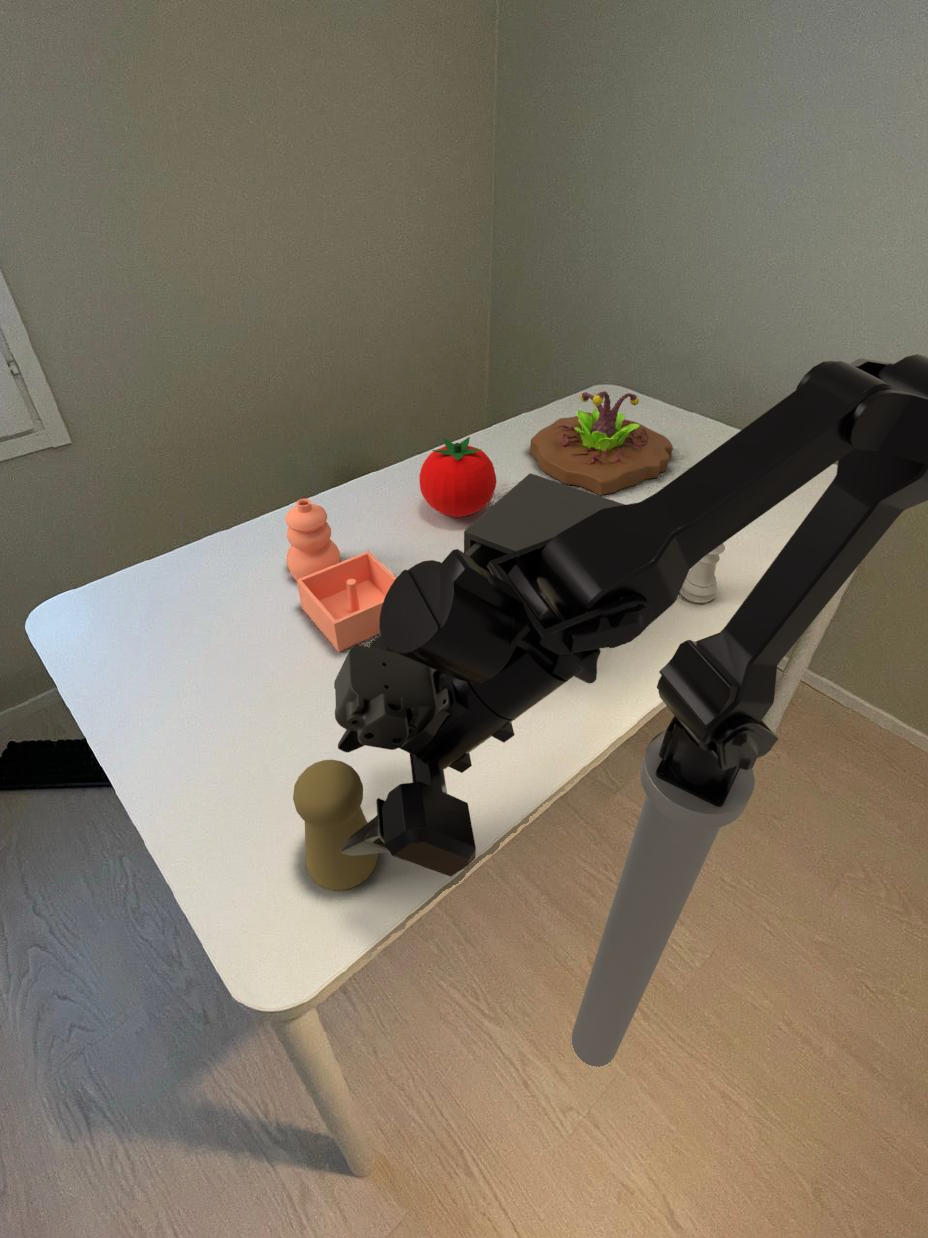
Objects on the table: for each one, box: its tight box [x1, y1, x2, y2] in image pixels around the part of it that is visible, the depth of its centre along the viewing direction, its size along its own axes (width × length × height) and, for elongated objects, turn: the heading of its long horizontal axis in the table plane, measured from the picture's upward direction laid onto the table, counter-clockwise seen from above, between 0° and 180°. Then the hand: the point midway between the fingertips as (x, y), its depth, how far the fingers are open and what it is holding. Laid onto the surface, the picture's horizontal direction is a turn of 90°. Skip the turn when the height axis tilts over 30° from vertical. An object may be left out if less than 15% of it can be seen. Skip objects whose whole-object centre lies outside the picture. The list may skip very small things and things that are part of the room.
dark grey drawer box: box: [463, 472, 626, 622], centre depth 83 cm, size 15×14×10 cm
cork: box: [292, 759, 379, 892], centre depth 56 cm, size 6×6×11 cm
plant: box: [529, 391, 674, 496], centre depth 105 cm, size 20×20×11 cm
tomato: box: [418, 436, 497, 518], centre depth 95 cm, size 10×10×10 cm
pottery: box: [284, 498, 397, 653], centre depth 81 cm, size 18×10×10 cm, turn 36°
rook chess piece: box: [679, 543, 726, 604], centre depth 82 cm, size 4×4×8 cm
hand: (343, 797), depth 54 cm, fingers open, 9 cm apart
